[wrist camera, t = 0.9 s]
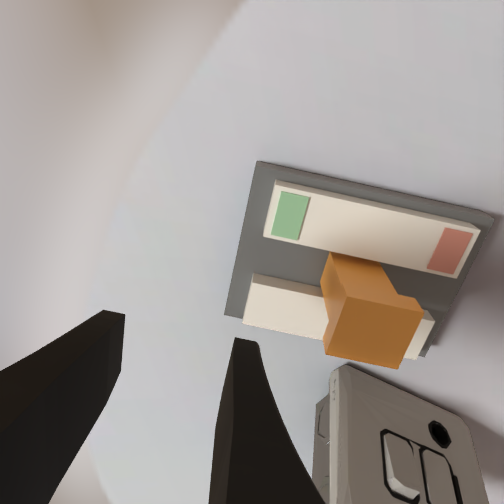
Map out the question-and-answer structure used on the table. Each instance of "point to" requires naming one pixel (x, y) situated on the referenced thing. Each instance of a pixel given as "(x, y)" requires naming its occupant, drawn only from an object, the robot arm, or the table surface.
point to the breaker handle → (366, 312)
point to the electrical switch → (390, 447)
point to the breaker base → (346, 249)
